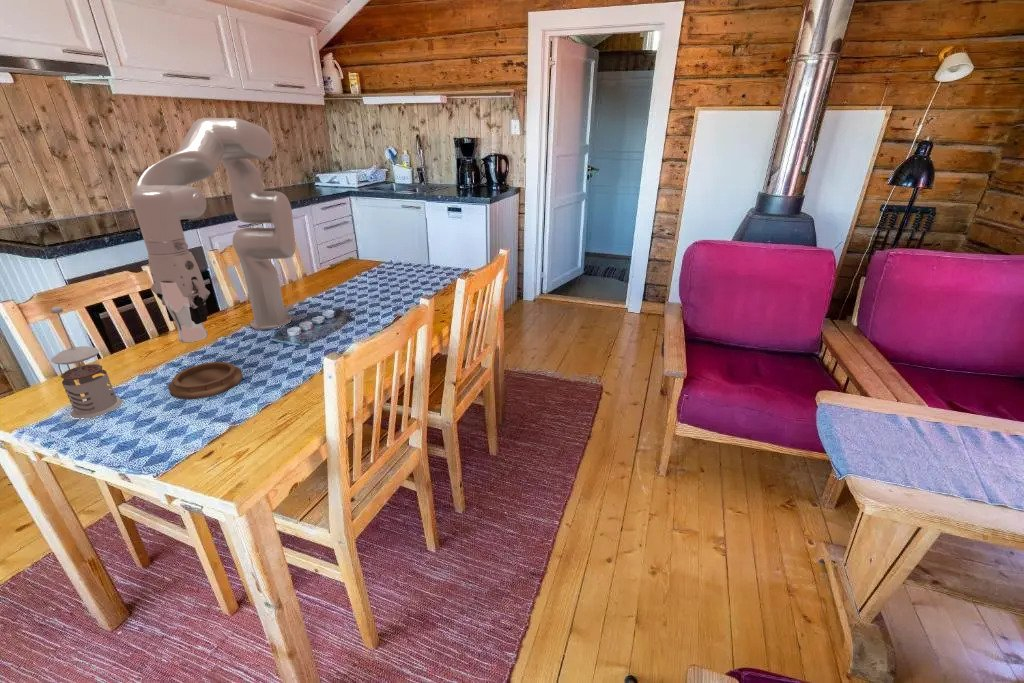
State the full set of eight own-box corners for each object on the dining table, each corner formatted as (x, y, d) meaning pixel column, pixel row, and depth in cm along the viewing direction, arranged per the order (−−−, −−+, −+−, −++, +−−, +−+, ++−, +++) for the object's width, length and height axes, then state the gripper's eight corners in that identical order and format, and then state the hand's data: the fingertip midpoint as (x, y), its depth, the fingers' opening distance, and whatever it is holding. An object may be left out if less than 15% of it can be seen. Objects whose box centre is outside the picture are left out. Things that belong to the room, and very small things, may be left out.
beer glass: (216, 333, 118) (201, 275, 112) (196, 344, 112) (179, 283, 106) (190, 331, 119) (173, 274, 113) (169, 343, 113) (150, 282, 106)
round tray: (206, 365, 129) (204, 356, 128) (256, 372, 126) (254, 363, 125) (153, 394, 115) (150, 384, 114) (208, 403, 112) (205, 393, 111)
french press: (87, 423, 104) (41, 317, 94) (54, 413, 107) (6, 310, 97) (133, 401, 112) (96, 302, 102) (101, 392, 116) (62, 296, 106)
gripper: (212, 245, 108) (231, 318, 115) (151, 241, 111) (173, 312, 119) (184, 253, 101) (206, 330, 108) (120, 248, 105) (145, 323, 112)
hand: (188, 320), depth 114 cm, fingers closed on beer glass, 6 cm apart
